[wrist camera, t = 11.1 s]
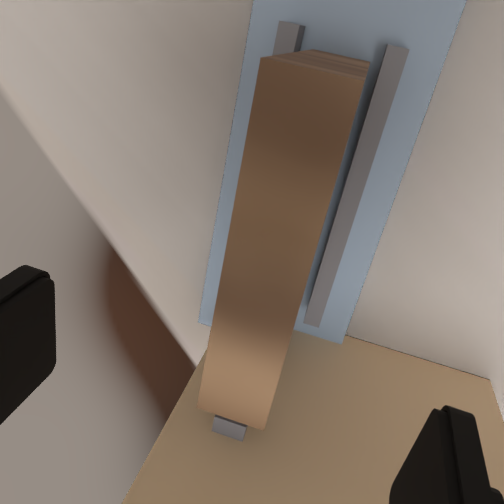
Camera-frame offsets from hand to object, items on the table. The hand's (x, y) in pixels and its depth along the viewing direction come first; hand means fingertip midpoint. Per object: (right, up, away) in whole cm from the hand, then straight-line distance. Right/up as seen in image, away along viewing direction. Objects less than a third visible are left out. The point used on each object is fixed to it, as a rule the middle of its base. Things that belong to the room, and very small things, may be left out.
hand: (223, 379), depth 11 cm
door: (+4, +7, +16) cm, 18 cm away
